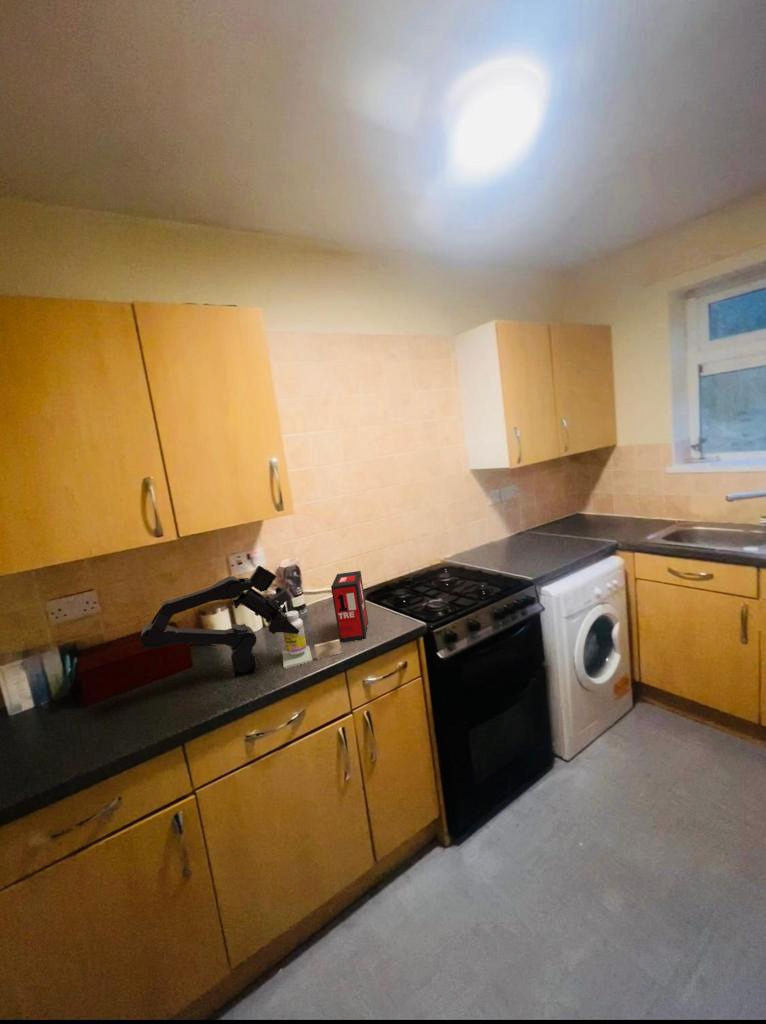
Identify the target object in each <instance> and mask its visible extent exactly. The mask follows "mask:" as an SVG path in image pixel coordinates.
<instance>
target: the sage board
mask: <svg viewBox="0 0 766 1024" xmlns="http://www.w3.org/2000/svg"><path fill="white" fill-rule="evenodd" d="M306 646H307V648H306V650H305V651H303V652H302V653H299V654H288V653H287V651H286V650H283V651H281V652H282V653H281V655H282V662H283V663H282V664H283V665H282V666H283V669H284V670H286V669H289V667H290V668H294V667H298V666H301V665H300V664H302V665H305V664H304V663H306V664H308V663H307V662H310V663H312V662H311V661H313V657H312V652H311V648H310V645H306ZM313 662H314V661H313ZM297 665H298V666H297ZM293 666H294V667H293ZM285 668H286V669H285Z"/></svg>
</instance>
